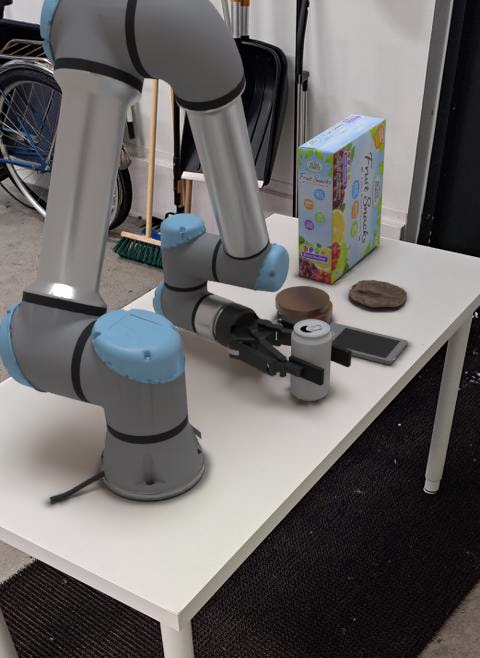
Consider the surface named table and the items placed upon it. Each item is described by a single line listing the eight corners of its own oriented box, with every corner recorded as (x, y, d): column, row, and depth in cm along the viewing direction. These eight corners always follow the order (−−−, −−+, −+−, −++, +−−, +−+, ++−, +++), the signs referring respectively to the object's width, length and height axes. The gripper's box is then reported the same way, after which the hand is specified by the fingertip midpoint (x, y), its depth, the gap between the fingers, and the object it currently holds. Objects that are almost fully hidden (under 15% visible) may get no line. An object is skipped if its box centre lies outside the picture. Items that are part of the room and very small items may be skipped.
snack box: (344, 237, 187) (351, 111, 170) (380, 245, 183) (391, 117, 166) (294, 276, 174) (295, 144, 156) (332, 285, 170) (337, 151, 153)
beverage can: (284, 386, 142) (285, 321, 134) (320, 379, 144) (323, 314, 136) (298, 406, 138) (299, 340, 130) (335, 399, 139) (338, 333, 131)
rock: (406, 287, 169) (408, 274, 168) (406, 313, 160) (407, 300, 159) (350, 283, 171) (351, 271, 169) (346, 309, 162) (347, 296, 160)
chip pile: (308, 339, 154) (308, 316, 151) (264, 322, 159) (264, 300, 156) (342, 318, 160) (344, 295, 157) (299, 302, 165) (300, 280, 162)
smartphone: (408, 344, 152) (409, 340, 151) (390, 365, 146) (391, 361, 146) (332, 325, 158) (332, 321, 157) (312, 345, 152) (312, 341, 152)
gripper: (264, 322, 153) (370, 364, 142) (189, 365, 143) (297, 414, 131) (264, 283, 148) (374, 323, 137) (186, 324, 138) (298, 372, 126)
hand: (336, 368), depth 134 cm, fingers closed on beverage can, 6 cm apart
